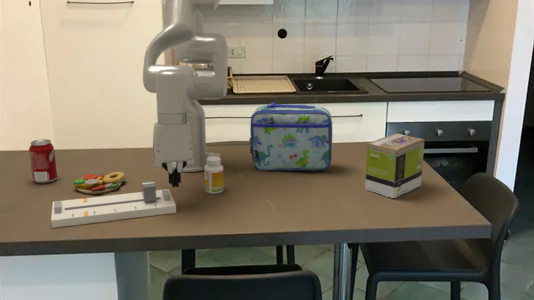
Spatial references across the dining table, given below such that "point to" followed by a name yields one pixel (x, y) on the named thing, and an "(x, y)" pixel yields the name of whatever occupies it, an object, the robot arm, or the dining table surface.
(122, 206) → the console board
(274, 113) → the lunch box
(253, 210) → the dining table surface
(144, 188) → the fader knob
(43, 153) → the soda can
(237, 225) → the dining table surface
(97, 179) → the toy food set
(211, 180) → the supplement bottle
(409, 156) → the tea box
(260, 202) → the dining table surface
